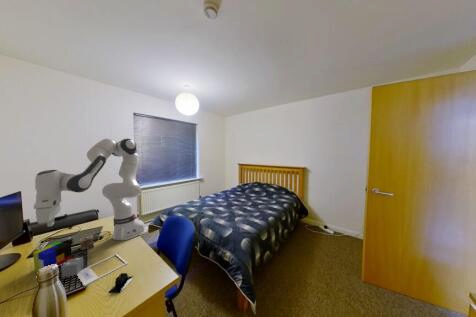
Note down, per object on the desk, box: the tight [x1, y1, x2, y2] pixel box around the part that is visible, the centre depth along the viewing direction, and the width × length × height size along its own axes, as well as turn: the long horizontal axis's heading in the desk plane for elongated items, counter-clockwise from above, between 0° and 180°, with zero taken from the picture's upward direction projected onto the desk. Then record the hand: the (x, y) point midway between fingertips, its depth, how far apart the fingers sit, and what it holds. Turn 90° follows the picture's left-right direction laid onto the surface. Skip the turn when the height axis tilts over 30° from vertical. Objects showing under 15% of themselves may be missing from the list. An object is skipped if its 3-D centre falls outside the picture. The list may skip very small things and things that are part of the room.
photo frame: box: [76, 253, 128, 287], centre depth 87 cm, size 15×1×18 cm
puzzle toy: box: [32, 241, 73, 272], centre depth 90 cm, size 10×10×10 cm
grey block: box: [60, 256, 85, 278], centre depth 84 cm, size 6×6×6 cm
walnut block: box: [79, 234, 95, 251], centre depth 107 cm, size 6×6×6 cm
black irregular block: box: [108, 272, 135, 294], centre depth 77 cm, size 12×7×5 cm, turn 177°
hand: (51, 225), depth 89 cm, fingers closed
